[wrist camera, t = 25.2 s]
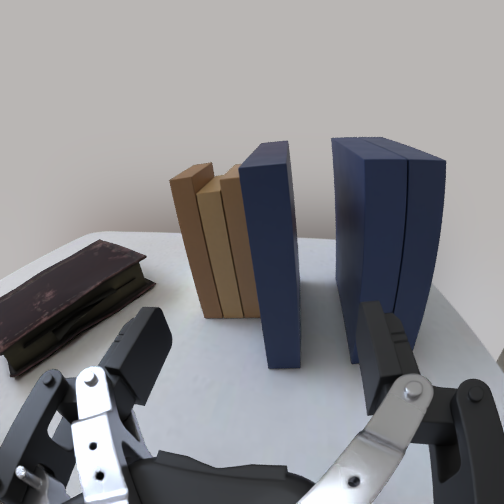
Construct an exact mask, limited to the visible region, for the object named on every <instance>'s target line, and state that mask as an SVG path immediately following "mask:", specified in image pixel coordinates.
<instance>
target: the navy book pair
mask: <svg viewBox="0 0 504 504" xmlns="http://www.w3.org/2000/svg"><path fill="white" fill-rule="evenodd" d="M331 141H332V152H333V168H334V185H335V186H334V187H335V213H336V282H337V287H338V291H339V296H340V301H341V306H342V312H343V317H344V322H345V328H346V333H347V339H348V345H349V351H350V358H351V364H357V363H359V358H358V352H357V347H356V328H357V320H358V311H359V304H360V302H367V301H380V303H381V306H382V309H383V312H384V313H393V314H394V315H396V316H397V317H398V318H399V319H400V320H401V322H402V325H403V327H404V330H405V333H406V335H407V338H408V342H409V343H410V346H411V349H412V351H413V348H414V345H415V342H416V339H417V335H418V332H419V329H420V325H421V322H422V318H423V315H424V311H425V307H426V304H427V300H428V295H429V291H430V287H431V282H432V278H433V273H434V268H435V263H436V257H437V251H438V245H439V238H440V232H441V224H442V216H443V206H444V194H445V180H446V179H445V178H446V161H445V160H443V159H441V158H438V157H436V156H433V155H431V154H428V153H425V152H423V151H421V150H418V149H415V148H412V147H409V146H407V145H404V144H401V143H398V142H395V141H392V140H389V139H386V138H383V137H358V138H357V137H344V138H331Z"/></svg>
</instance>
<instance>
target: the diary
mask: <svg viewBox="0 0 504 504" xmlns="http://www.w3.org/2000/svg"><path fill="white" fill-rule="evenodd" d="M146 257H147V256H146V255H143V254H140V253H138V252H135V251H133V250H130V249H128V248H125V247H122V246H120V245H117V244H113V243H109V242H106V241H102V240H100V239H99V240H98V241H96V242H94V243H92V244H90V245H89V246H87V247H85V248H83V249H82V250H80V251H78V252H77V253H75V254H73V255H71V256H70V257H68V258H66V259H64V260H62V261H60V262H58V263H56V264H54V265H53V266H51V267H49V268H47V269H45V270H43V271H41V272H40V273H38V274H37V275H35V276H34V277H32V278H31V279H29V280H28V281H26V282H25V283H23V284H22V285H20V286H19V287H17V288H16V289H14V290H12V291H10V292H9V293H7V294H5V295H4V296H2V297H0V356H1V355H4V356H5V357H6V359H7V360H8V365H9V370H10V377H15V376H18V375H20V374H22V373H23V372H25V371H26V370H28V369H29V368H31V367H32V366H34V365H36V364H37V363H39V362H40V361H42V360H43V359H45V358H47V357H48V356H50V355H51V354H52V353H53V352H55V351H56V350H57V349H59V348H60V347H61V346H63V345H64V344H65V343H67V342H68V341H69V340H71V339H72V338H73V337H75V336H76V335H77V334H79V333H80V332H81V331H83V330H85V329H87V328H88V327H90V326H92V325H94V324H96V323H98V322H99V321H101V320H103V319H105V318H107V317H108V316H110V315H112V314H114V313H116V312H118V311H119V310H121V309H122V308H123V307H125V306H126V305H127V304H129V303H130V302H132V301H133V300H134V299H136V298H137V297H138V296H140V295H141V294H142V293H144V292H145V291H147V290H148V289H149V288H151V287H152V286H154V285H155V284H156V283H155V282H152V281H150V280H148V279H146V278H144V276H143V273H142V270H141V267H140V264H139V262H140V261H141V260H143V259H145V258H146Z"/></svg>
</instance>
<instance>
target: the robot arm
mask: <svg viewBox="0 0 504 504" xmlns="http://www.w3.org/2000/svg"><path fill="white" fill-rule="evenodd" d="M171 346H172V334H171V332H170V329H169V327H168V324H167V322H166V319H165V317H164V314H163V312H162V310H161V309H160V308H159V307H142V308H141V309H140V311H139V312H138V314H137V315H136V317H135V318H132V319H131V320H130V321H129V322H128V323H126V324H125V325H124V326H123V328H122V329H121V331H120V332H119V335H117V337H116V338H115V340H114V342H113V343H112V345H111V346H110V348H109V349H108V351H107V352H106V354H105V355H104V357H103V359H102V360H101V362H100V363H99V365H98V366H91V367H88V368H86V369H84V370H83V371H82V372H81V373H80V374H79V375H78V377H75V378H64V376H63V375H62V374H61V372H60V371H59V370H56V369H52V370H48V371H46V372H45V373H44V374H43V375H42V376H41V377H40V378H39V380H38V381H37V383H36V385H35V386H34V388H33V389H32V391H31V393H30V394H29V396H28V398H27V399H26V401H25V403H24V404H23V406H22V408H21V410H20V411H19V413H18V415H17V417H16V419H15V420H14V422H13V424H12V426H11V428H10V430H9V431H8V433H7V435H6V437H5V439H4V441H3V443H2V445H1V447H0V501H1V502H3V503H4V504H372V502H373V501H374V500H375V498H376V497H377V496H378V494H379V493H380V492H381V490H382V489H383V487H384V486H385V485H386V483H387V482H388V480H389V479H390V477H391V476H392V474H393V473H394V471H395V470H396V468H397V466H398V465H399V463H400V462H401V460H402V458H403V456H404V454H405V451H406V449H407V447H408V445H409V443H418V444H429V451H430V459H431V469H432V481H433V498H434V504H504V432H503V428H502V425H501V421H500V418H499V414H498V411H497V408H496V405H495V402H494V399H493V396H492V393H491V390H490V388H489V387H488V385H487V384H486V383H484V382H483V381H481V380H478V379H468V380H466V381H464V382H463V383H461V384H460V386H459V387H458V389H454V388H442V387H436V386H433V385H432V384H431V382H430V381H429V380H428V379H427V378H425V377H424V376H422V375H421V374H420V372H419V369H418V366H417V363H416V360H415V357H414V355H413V352H412V349H411V346H410V343H409V342H408V338H407V335H406V333H405V330H404V327H403V325H402V322H401V320H400V319H399V318H398V317H397V316H396V315H394V314H393V313H384V312H383V309H382V306H381V303H380V301H367V302H360V304H359V311H358V320H357V328H356V347H357V352H358V358H359V363H360V369H361V375H362V382H363V388H364V395H365V402H366V409H367V416H369V415H373V417H372V418H371V420H370V421H369V422H368V424H367V425H366V427H365V428H364V429H363V430H362V431H360V432H359V433H358V434H357V435H356V436H355V438H354V439H353V440H352V441H351V443H350V444H349V445H348V447H347V448H346V449H345V450H344V452H343V453H342V454H341V455H340V457H339V458H338V459H337V460H336V461H335V463H334V464H333V465H332V466H331V467H330V468H329V470H328V471H327V472H326V473H325V474H324V475H323V476H322V477H321V479H320V480H319V481H318V482H317V483H316V484H315V483H314V482H312V481H311V480H309V479H307V478H305V477H302V476H300V475H297V474H293V473H289V472H288V471H287V466H282V465H256V464H251V465H244V466H236V467H227V468H215V467H212V466H209V465H207V464H204V463H202V462H200V461H197V460H195V459H193V458H190V457H188V456H184V455H179V454H174V453H170V452H165V451H161V450H159V452H158V454H157V457H152V455H151V453H150V452H149V451H148V449H147V447H146V445H145V442H144V440H143V437H142V434H141V431H140V428H139V425H138V422H137V418H136V415H135V412H134V410H133V409H132V408H133V406H134V404H138V405H143V406H145V404H146V402H147V400H148V397H149V395H150V393H151V391H152V388H153V386H154V384H155V382H156V379H157V377H158V375H159V373H160V371H161V368H162V366H163V364H164V362H165V360H166V358H167V355H168V353H169V351H170V349H171ZM56 410H57V411H58V412H59V413H60V414H61V415H62V416H63V417H62V419H61V421H60V423H59V425H58V427H57V429H56V431H55V433H54V435H53V438H52V439H51V438H50V437H49V435H48V432H47V429H48V426H49V424H50V422H51V420H52V418H53V416H54V414H55V412H56ZM75 463H77V468H78V473H79V478H80V483H81V487H82V491H83V492H82V493H81V494H79V495H77V496H75V497H73V498H70V496H69V495H68V494H66V490H65V489H66V486H67V484H68V481H69V479H70V476H71V473H72V471H73V468H74V466H75Z"/></svg>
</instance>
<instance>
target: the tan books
mask: <svg viewBox="0 0 504 504" xmlns="http://www.w3.org/2000/svg"><path fill="white" fill-rule="evenodd" d="M240 166H241V164H236V165H234V166H233V167H232V168H231V169H230V170H229V171H228V172H227V173H226V174H225V175H221V176H215V177H214V172H213V165H212V162H211V163H205V164H198V165H193V166H192V167H190V168H188V169H187V170H185V171H183V172H182V173H180V174H179V175H177V176H175V177H174V178H172V179H170V180H169V181H170V186H171V190H172V195H173V199H174V204H175V208H176V212H177V217H178V221H179V225H180V229H181V233H182V237H183V241H184V245H185V249H186V253H187V257H188V261H189V265H190V268H191V272H192V276H193V279H194V283H195V286H196V290H197V294H198V297H199V301H200V304H201V307H202V311H203V314H204V317H205V318H223V317H224V318H244V316H245V318H261V317H260V310H259V304H258V297H257V291H256V284H255V277H254V271H253V264H252V258H251V251H250V244H249V238H248V231H247V225H246V218H245V211H244V205H243V198H242V192H241V185H240V178H239V172H238V168H239V167H240Z"/></svg>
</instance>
